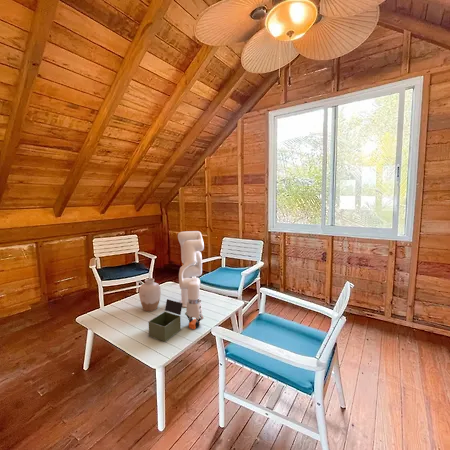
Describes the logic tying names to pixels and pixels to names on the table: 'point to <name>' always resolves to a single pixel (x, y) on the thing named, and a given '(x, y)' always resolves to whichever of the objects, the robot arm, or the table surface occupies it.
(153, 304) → the vase
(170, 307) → the flap
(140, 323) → the table surface
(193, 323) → the block
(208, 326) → the table surface
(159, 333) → the olive green hollow box
